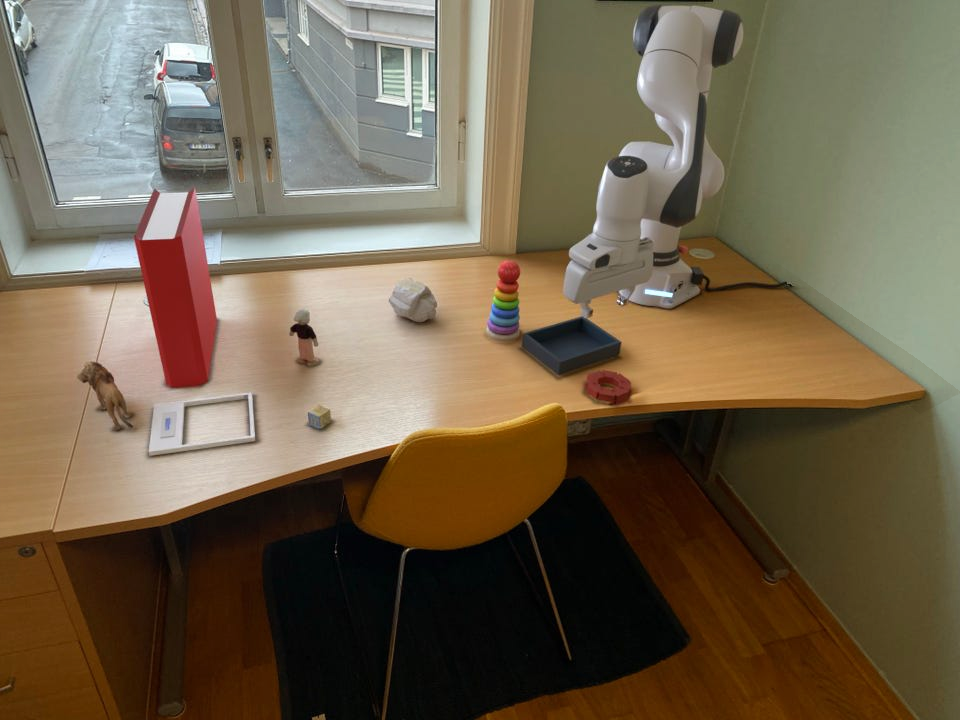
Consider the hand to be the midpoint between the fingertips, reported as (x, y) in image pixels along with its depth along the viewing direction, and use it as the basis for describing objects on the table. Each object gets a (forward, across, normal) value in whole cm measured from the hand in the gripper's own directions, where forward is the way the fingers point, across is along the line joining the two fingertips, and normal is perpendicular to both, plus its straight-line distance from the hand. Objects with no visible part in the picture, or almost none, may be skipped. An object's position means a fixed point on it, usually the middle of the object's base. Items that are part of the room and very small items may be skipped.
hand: (604, 310), depth 144 cm
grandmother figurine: (+19, +48, -39) cm, 64 cm away
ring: (+19, -2, +3) cm, 19 cm away
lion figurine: (+18, +87, -40) cm, 97 cm away
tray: (+19, -5, -13) cm, 24 cm away
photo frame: (+18, +73, -28) cm, 80 cm away
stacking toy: (+19, +4, -27) cm, 34 cm away
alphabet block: (+18, +54, -17) cm, 60 cm away
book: (+18, +68, -54) cm, 89 cm away
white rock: (+19, +18, -46) cm, 53 cm away
